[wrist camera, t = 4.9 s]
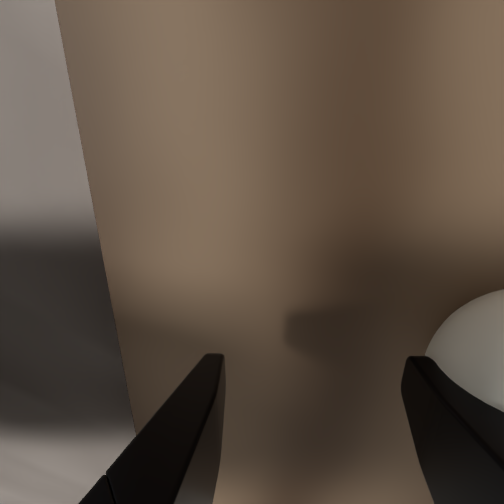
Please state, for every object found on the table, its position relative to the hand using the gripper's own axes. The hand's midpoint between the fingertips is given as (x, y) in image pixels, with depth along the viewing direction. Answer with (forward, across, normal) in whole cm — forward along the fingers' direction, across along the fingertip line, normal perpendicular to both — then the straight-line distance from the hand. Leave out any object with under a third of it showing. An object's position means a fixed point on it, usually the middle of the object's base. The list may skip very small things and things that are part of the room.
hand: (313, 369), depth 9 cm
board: (+4, -4, 0) cm, 6 cm away
